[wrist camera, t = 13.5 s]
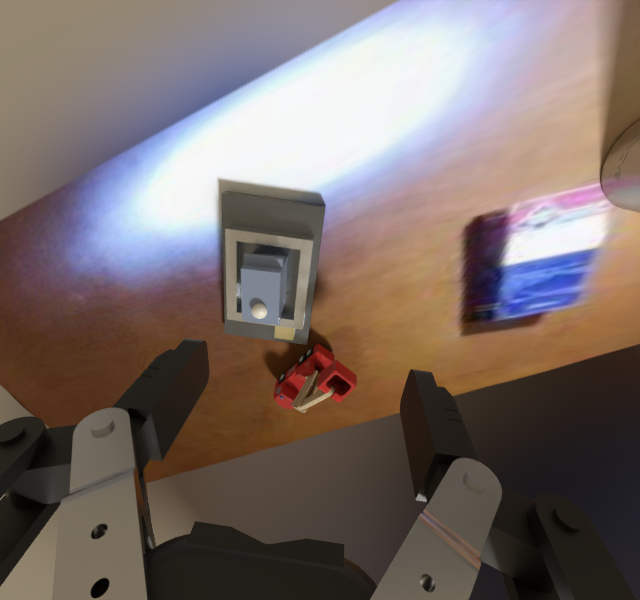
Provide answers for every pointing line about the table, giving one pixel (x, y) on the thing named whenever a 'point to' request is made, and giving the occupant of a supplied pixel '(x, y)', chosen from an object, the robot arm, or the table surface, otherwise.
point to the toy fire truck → (314, 380)
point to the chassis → (279, 239)
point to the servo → (263, 287)
